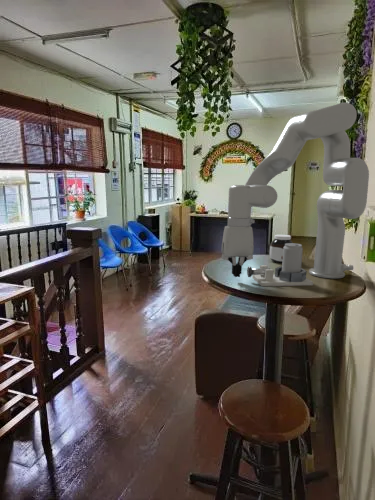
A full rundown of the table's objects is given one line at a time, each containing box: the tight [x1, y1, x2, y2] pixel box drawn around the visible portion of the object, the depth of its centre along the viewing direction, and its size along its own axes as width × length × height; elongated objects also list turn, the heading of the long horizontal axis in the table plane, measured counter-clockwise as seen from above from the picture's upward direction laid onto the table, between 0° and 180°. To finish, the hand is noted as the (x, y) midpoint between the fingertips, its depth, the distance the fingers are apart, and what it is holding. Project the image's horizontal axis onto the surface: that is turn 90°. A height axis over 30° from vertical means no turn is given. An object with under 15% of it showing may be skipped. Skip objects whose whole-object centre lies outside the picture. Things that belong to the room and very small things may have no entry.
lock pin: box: [246, 266, 271, 278], centre depth 119 cm, size 8×4×4 cm, turn 97°
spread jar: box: [269, 234, 293, 265], centre depth 151 cm, size 12×11×12 cm
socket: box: [274, 265, 308, 282], centre depth 120 cm, size 10×10×3 cm
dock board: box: [251, 264, 314, 287], centre depth 120 cm, size 18×10×5 cm, turn 97°
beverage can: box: [281, 242, 304, 273], centre depth 119 cm, size 6×6×12 cm
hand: (236, 275), depth 118 cm, fingers closed
